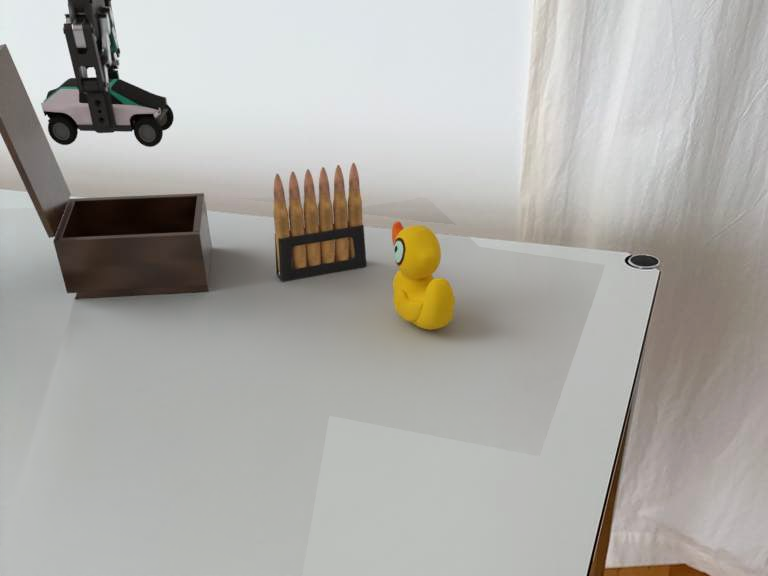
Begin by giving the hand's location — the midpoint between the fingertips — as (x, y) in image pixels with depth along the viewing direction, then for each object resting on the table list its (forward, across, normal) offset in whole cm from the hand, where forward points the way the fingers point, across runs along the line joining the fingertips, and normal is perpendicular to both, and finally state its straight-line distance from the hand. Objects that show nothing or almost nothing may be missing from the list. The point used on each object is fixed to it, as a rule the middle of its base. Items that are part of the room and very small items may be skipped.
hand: (110, 119), depth 93 cm
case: (+18, -2, 0) cm, 18 cm away
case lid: (+2, -1, -9) cm, 9 cm away
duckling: (+18, +13, +31) cm, 38 cm away
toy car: (+2, 0, 0) cm, 2 cm away
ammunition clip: (+18, 0, +21) cm, 28 cm away
